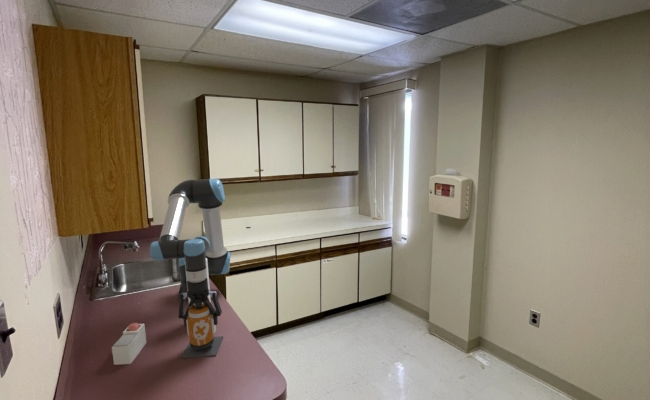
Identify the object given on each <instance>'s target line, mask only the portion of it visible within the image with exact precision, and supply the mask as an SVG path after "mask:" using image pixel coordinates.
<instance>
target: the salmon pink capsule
mask: <svg viewBox="0 0 650 400" xmlns="http://www.w3.org/2000/svg"><path fill="white" fill-rule="evenodd" d="M139 324H140V323H138V322H132V323H130V324H129V325H128V326H127V327H128V328H129V331H137V330H138V329H139Z"/></svg>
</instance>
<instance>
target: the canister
mask: <svg viewBox="0 0 650 400" xmlns="http://www.w3.org/2000/svg"><path fill="white" fill-rule="evenodd" d="M194 304H195V305H194ZM194 304H193V305H192V306H191V308H190V307H189V310H188V314H189V315H188V316H187V320H188V330H189V335H188V339H189V342H190V347H191V348H192V349H197V350H199V349H204V348H207V347H209V346H211V345H212V344H213V342H214V337H215V336H214V334H212V322H211V318H212V315H211V313H210V312H209V309H208V307H206V306H205V305H204V304H203V303H202V300H201V299H195V303H194Z"/></svg>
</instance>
